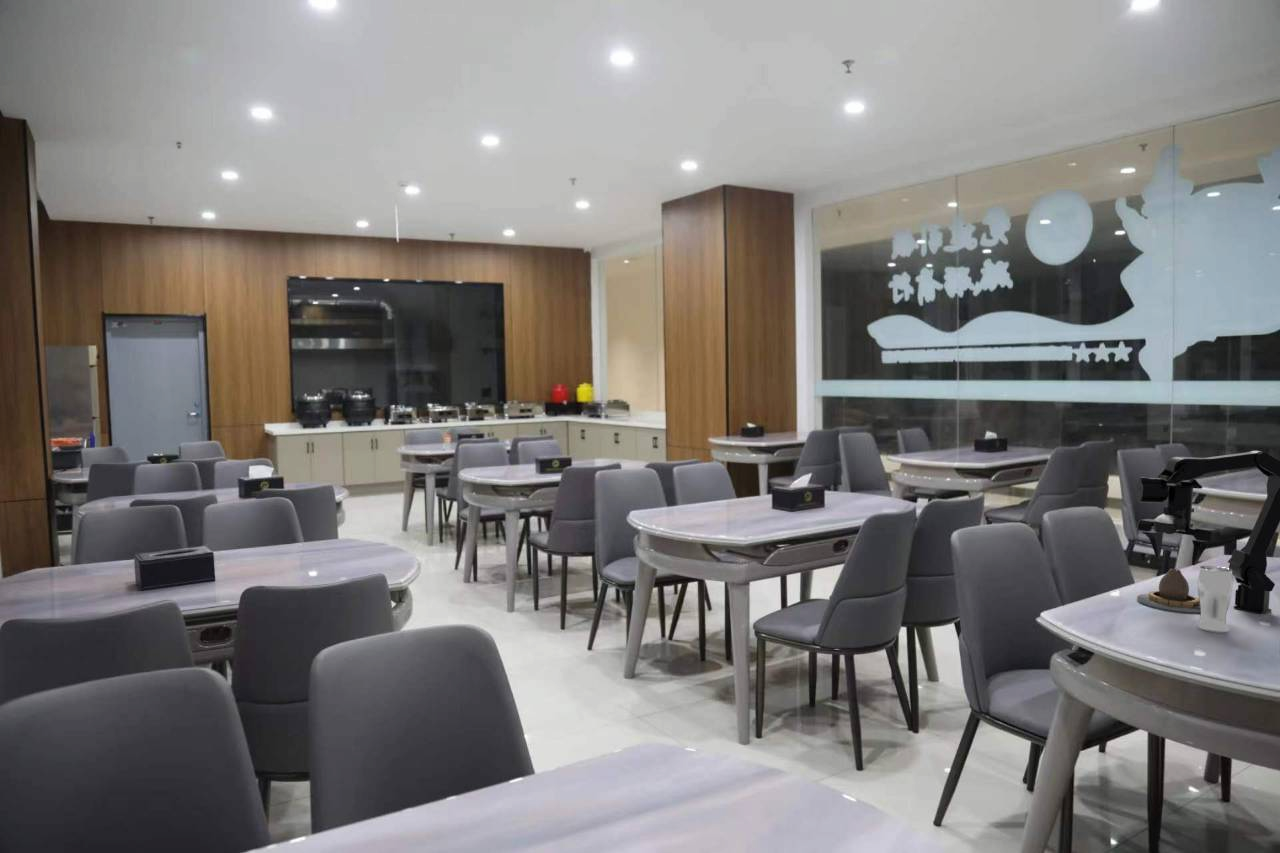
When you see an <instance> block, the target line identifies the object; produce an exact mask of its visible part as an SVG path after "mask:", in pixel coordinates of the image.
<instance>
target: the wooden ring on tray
mask: <svg viewBox="0 0 1280 853" xmlns="http://www.w3.org/2000/svg"><path fill="white" fill-rule="evenodd" d="M1136 601H1137V603H1140V604H1141V605H1143V606H1147V607H1149V606H1150V608H1152V607H1153V608H1152V609H1156V608H1158V610H1161V609H1162V610H1161V611H1167V612H1172V611H1173V613H1183V614H1200V603H1199V597H1196V596H1194V595H1192V594H1188V597H1187V599H1186V600H1185V601H1178V600H1170V599H1165V598H1162V597H1161V595H1160V593H1159V590H1152V591H1148V593H1142V594H1139V595H1137V596H1136Z"/></svg>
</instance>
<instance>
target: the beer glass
mask: <svg viewBox="0 0 1280 853" xmlns="http://www.w3.org/2000/svg"><path fill="white" fill-rule="evenodd" d="M1233 579H1234V578H1233V575H1232V570H1231V569H1229V567H1228V568H1227V567H1222V566H1217V565H1215V566H1214V565H1201V566H1199V572H1198V580H1197V592H1198V593H1197V596H1198V598H1199V603H1200V613H1199V619H1198V623H1197V628H1198V629H1199V630H1201V631H1205V632H1208V633H1209V632H1210V633H1217V634H1226V633H1228V627H1227V626H1228V625H1227V615H1228V614H1227V613H1228V610H1229V606H1230V602H1231V600H1232V595H1233V594H1232V593H1233V584H1234V583H1233Z"/></svg>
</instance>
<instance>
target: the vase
mask: <svg viewBox="0 0 1280 853" xmlns="http://www.w3.org/2000/svg"><path fill="white" fill-rule="evenodd" d="M1158 591H1159V593H1160V595H1161V597H1162V598H1165V599H1170V600H1178V601H1185V600H1186V599H1187V597H1188V595H1190V594H1189V593H1190V586H1189V582H1188V581H1187V579H1186V578H1185V576H1184V575H1183V574H1182V571H1181V570H1180V569H1178V568H1169V570H1168V571H1167V573H1165V574H1164V575H1163V576H1162V578H1160V580H1159V584H1158Z"/></svg>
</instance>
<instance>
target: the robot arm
mask: <svg viewBox="0 0 1280 853" xmlns="http://www.w3.org/2000/svg"><path fill="white" fill-rule="evenodd" d="M1247 468H1256V469H1257V470H1258V471H1259V472H1260V473H1261V474H1262V475H1264V476H1265V477H1267V481H1266V499H1265V501H1264V503H1263V505H1262V507H1261V510H1260V512H1259V515H1258V516H1257V519H1256V522H1255V524H1254V526H1253V528H1252V531H1251V532H1250V535H1249V538H1248V540H1247V542H1246V543H1245V546H1244V547H1242V548H1241V549H1237V548H1234V549H1233V550H1232V552H1231V557H1230V558H1229V560H1228V561H1227V563H1228V564H1229V565H1228V569H1231V570H1232V577H1234V578H1235V581H1236V583H1237V584H1238V585H1237V589H1236V590H1235V594H1234V595H1235V598H1234V606H1233V609H1236V610H1237V609H1238V610H1242V611H1245V612H1251V613H1255V614H1260V615H1261V614H1266V613H1269V612H1272V611H1273V610H1272V608H1269V607H1270V596H1271V595H1270V594H1271V593H1270V592H1272V591H1273V589H1274V587H1275V586H1276V583H1274V581H1273V580H1271V579H1270V578H1269V576H1267V574H1266V572H1267V571H1266V570H1267V567H1268V558H1267V553H1268V550H1269V548H1270V545H1271V543H1272V541H1273V538H1274V537H1275V534H1276V532H1277V530H1278V528H1279V525H1280V460H1278V459H1277V458H1275V457H1273V456H1272V455H1270V454H1269V453H1268V452H1266V451H1262V450H1251V451H1247V452H1241V453H1232V454H1224V455H1218V456H1217V455H1215V456H1210V457H1196V456H1195V457H1191V456H1173V457H1171V458H1169V460H1168V461H1167V462H1166V466H1165V468H1164V469H1163V470H1162V471H1161V472H1160V473H1159V474H1158V475H1157V477H1155V478H1153V477H1146V476H1145V477H1144V476H1139V477H1138V482H1136V486H1135V487H1134V497H1135V500H1136V502H1137V503H1147V504H1148V503H1150V504H1152V503H1153V504H1155V503H1156V504H1163V503H1164V501H1166V506H1164V507H1163V509H1162V510H1163V511H1162V514H1160V515H1158V516H1157V517H1156V518H1154V519H1153V518H1144V519H1140V520H1139V521H1138V522H1137V524H1136V530H1138V531H1141V534H1142V535H1145V536H1146V537H1147V538H1148V540H1149V541H1150V543H1151V546H1152V549H1153V552H1154V555H1155V557H1156V559H1160V558H1161V555H1162V554H1161V553H1162V547H1163V538H1164V534H1166V535H1174V534H1179V535H1188V536H1191V537H1192V536H1193V537H1194V539H1192V540H1191V543H1192V544H1193V547H1192V548H1193V550H1192V558H1191V564H1192V566H1196V565H1197V563H1198V562H1199V560H1200V559H1201V557H1202V555H1203V553H1204V551H1205V550H1207V547H1208V546H1209V545H1210V544H1214V543H1215V542H1216V541H1221V532H1220V531H1219V529H1218V528H1210V527H1205V526H1203V527H1198V528H1197V527H1196V528H1194V523H1192V513H1195V508H1193V493H1194V489H1196V490H1197V489H1199V490H1200V489H1201V490H1202V489H1203V485H1201V483H1199V482H1198V480H1197V478H1199V477H1204V476H1206V475H1207V474H1211V473H1215V472H1223V471H1224V472H1225V471H1231V470H1232V471H1233V470H1238V469H1239V470H1240V469H1247Z"/></svg>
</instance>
